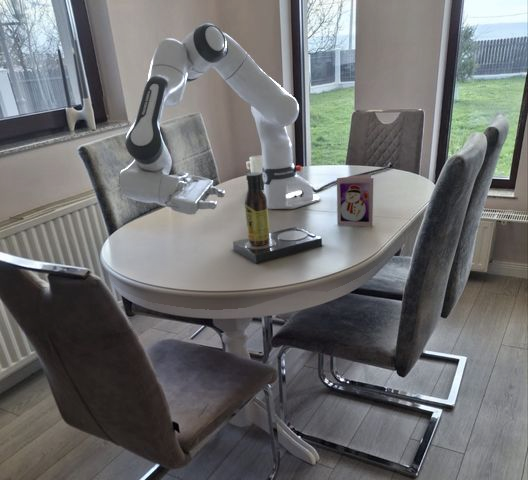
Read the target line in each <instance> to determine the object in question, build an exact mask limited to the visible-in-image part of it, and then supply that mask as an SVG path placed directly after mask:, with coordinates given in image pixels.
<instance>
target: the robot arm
mask: <svg viewBox="0 0 528 480" xmlns="http://www.w3.org/2000/svg"><path fill="white" fill-rule="evenodd" d="M211 68H212V69H214V70H215V72H217V73H218V75H219V77H221V79H223V81H225V83H227V85H228V86H229V87H230V88H231V89H232V90H233V91H234V92H235V93H236V94H237V96H239V97H240V99H242V100H243V101H245V102H246V103H247V104H249V105H250V111H251V115H252V117H253V118H254V122H255V125H256V130H257V133H258V137H259V141H260V147H261V155H262V159H263V168H262V174H263V183H264V188H263V193H264V194H265V196H266V200H267V208H268V210H270V209H271V210H294V209H298V208H300V207H304V206H307V205H310V204H313V203H317V202H320V197H319V195H317V194H314V193H319V192H321V191H322V190H323V189H325V188H328V187H329V186H331V185H333V184H337V179H336V180H333V181H331V182H328V183H327V184H324V185H322V186H321V187H319V188H317V189H315V188H314V187H313V186H312V183H310V182H309V181H307V180H306V179H305V178H304V177H302V176H300V175H299V174H298V172H302V171H303V167H302V165H295V164H294V163H293V144H292V140H291V138H290V137H289V134H288V131H287V127H288V126H291V125H293V124H294V123H295V122H296V120H297V119H298V117H299V113H300V106H299V103H298V100H297V99H296V98H295V97H293V96H292V94H289V92H287V91H286V90H285V89H284V88H283V87H281V85H280V84H279V83H277V82H276V81H275V80H274V79H273V78H272V77H270V75H268V74H267V73H266V72H265V71H264V70H263V69H262V68H261V67H260V66H259V65H258V64H257V63H256V61H255V60H254V59H253V58H252V57H251V55H249V53H248V52H247V51H246V50H245V49H244V48H243V47H242V46H241V45H240V44H239V43H238V41H236V40H235V39H234V38H233V37H231V36H230V35H228V34H227V33H226V32H223V31H222V30H221V29H220V28H219V27H218V26H216V25H215V24H213V23H209V22H207V23H202V24H200V25H199V26H197V27H195V29H194V30H192V31H191V32H190V33H188V34H187V35H186V36H185V37H184V38H183V39H182V40H181V41H179V40H177V39H176V38H171V37H167V38H163V39H161V41H159V42H158V44H157V46H156V48H155V50H154V53H153V55H152V59H151V62H150V67H149V72H148V79H147V82H146V84H145V86H144V89H143V93H142V96H141V99H140V103H139V107H138V111H137V115H136V118H135V119H134V122H133V124H132V125H131V127H130V128H129V130H128V132H127V134H126V136H125V147H126V151H127V152H128V154H129V155H130V156H131V157H132V158H133V159H134V160H133V161H132V162H131V163H130V164H129V165H128V166H127V167H126V168H123V169H121V170H120V172H119V176H118V184H119V185H118V186H119V189H120V191H121V193H122V194H123V195H124V197H126V198H128V199H130V200H133V201H137V202H142V203H145V204H146V203H147V204H152V203H153V204H154V203H155V204H158V205H160V206H163V207H168V208H170V209H171V210H172V211H174V212H177V213H180V214H184V215H191V216H192V215H195V214H196V213H197V212H199V210H209V209H210V210H215V209H216V208H217V201H216V200H214V201H213V200H210V201H207V199H209V197H210V196H213V195H215V196H217V198H224V197H225V195H226V191H225V190H224V189H220V188H218V187H216V186H214V180H212V179H210V178H207V177H203V176H198V175H192V174H190V175H189V173H188V172H183V171H182V172H179V173H176V174H170V172H171V170H172V167H173V160H172V156H171V154H170V151H169V149H168V147H167V145H166V143H165V141H164V139H163V136H162V134H161V130H160V125H161V121H162V116H163V112H164V109H165V108H172V107H176V106H178V105H179V104H180V103H181V102H182V100H183V98H184V95H185V91H186V86H187V83H188V82H189V83H190V82H194V81H196V80H197V79H198V78H199V77H201V76H203V75H205V74H206V73H207V72H209V71H210V70H211ZM392 166H393V164H392V162H389V163H388V165H387V166H384V167H381V168H377V169H373V170H368V171H365V172H360V173H357V174H352V175H349V176H347V177H350V176H357V175H364V174H373V173H377V172H381V171H385V170H387V169H389V168H390V167H392Z"/></svg>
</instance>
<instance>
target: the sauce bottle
mask: <svg viewBox="0 0 528 480" xmlns="http://www.w3.org/2000/svg"><path fill="white" fill-rule="evenodd" d="M245 176H246V181H247V193H246V197H245V202H244V208H245V219H246V229H247V238H248V239H249V243H250V244H251V245H253V246H260V245H266V244H268V243H269V237H270V235H269V233H270V225H269V224H270V223H269V222H270V221H269V209H268V208H267V200H266V196H265V194H264V190H263V187H261V173H259V172H252V173H251V172H248V173H247V174H246V175H245Z"/></svg>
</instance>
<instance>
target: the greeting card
mask: <svg viewBox="0 0 528 480" xmlns="http://www.w3.org/2000/svg"><path fill="white" fill-rule="evenodd" d="M349 176H350V177H348V176H344V177H337V178H336V180H337V183H336V204H337V205H336V213H337V214H336V215H337V217H336V219H337V220H336V221H337V226H340V227H341V226H342V227H343V226H344V227H373V219H374V217H373V216H374V177H372V173H370V174H364V175H357V176H352V175H349Z"/></svg>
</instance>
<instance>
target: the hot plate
mask: <svg viewBox="0 0 528 480" xmlns="http://www.w3.org/2000/svg"><path fill="white" fill-rule="evenodd" d="M269 235H270V237H269V243H268V244H266V245H260V246H253V245H251V244H250V243H249V239H248V237H247V238H243V239H240V240H236V241H233V242H232V248H233V251H235V252H236V253H237V254H240V255H241V256H243V257H244V258H246V259H248V260H249V261H251V262H253V263H254V264H260V263H264V262H267V261H271V260H275V259H279V258H282V257H286V256H290V255H293V254H297V253H302V252H305V251H308V250H312V249H315V248H320V247H322V246H323V239H322V237H321V236H318V235H317V234H315V233H313V232H310V231H308V230H306V229H303V228H301V227H297V226H293V227H289V228H285V229H280V230H277V231H272V232H269Z"/></svg>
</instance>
